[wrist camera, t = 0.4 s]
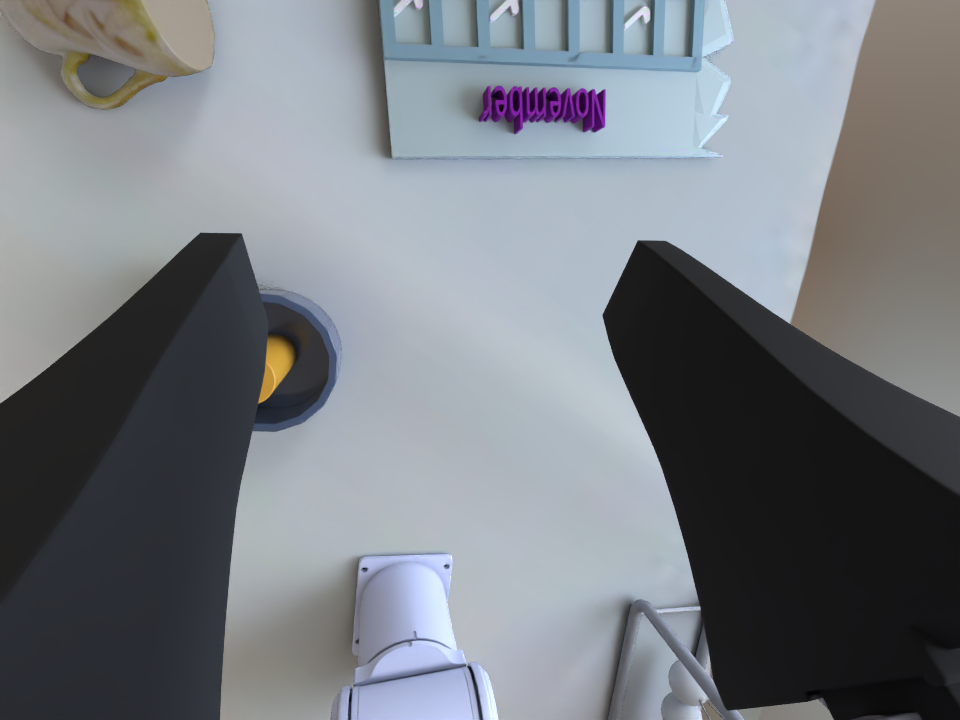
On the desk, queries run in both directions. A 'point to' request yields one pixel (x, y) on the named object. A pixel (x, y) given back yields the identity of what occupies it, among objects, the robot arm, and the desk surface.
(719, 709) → the newton's cradle
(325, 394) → the cup
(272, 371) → the peg
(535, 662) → the desk surface
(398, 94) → the calendar
